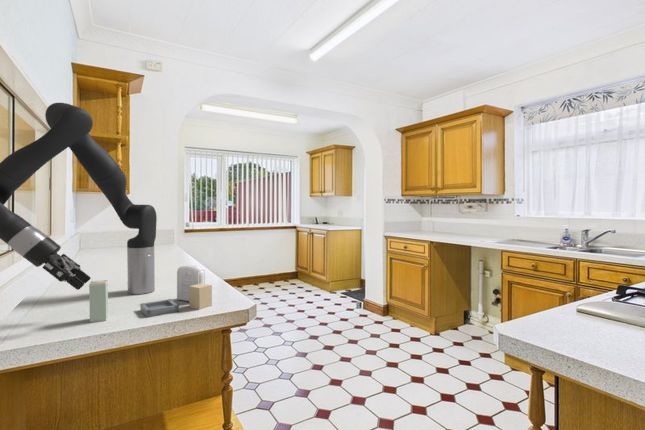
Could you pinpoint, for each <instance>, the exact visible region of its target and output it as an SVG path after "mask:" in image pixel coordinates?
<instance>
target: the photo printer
mask: <svg viewBox="0 0 645 430" xmlns="http://www.w3.org/2000/svg"><path fill="white" fill-rule="evenodd" d="M201 283H203V284H206V272H205V269H204V268H203V267H200V266H198V265H193V264H185V265H182V266H179V267H178V268H177V270H176V299H177V300H179V301H186V302H189V286H192V285H196V284H201Z"/></svg>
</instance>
